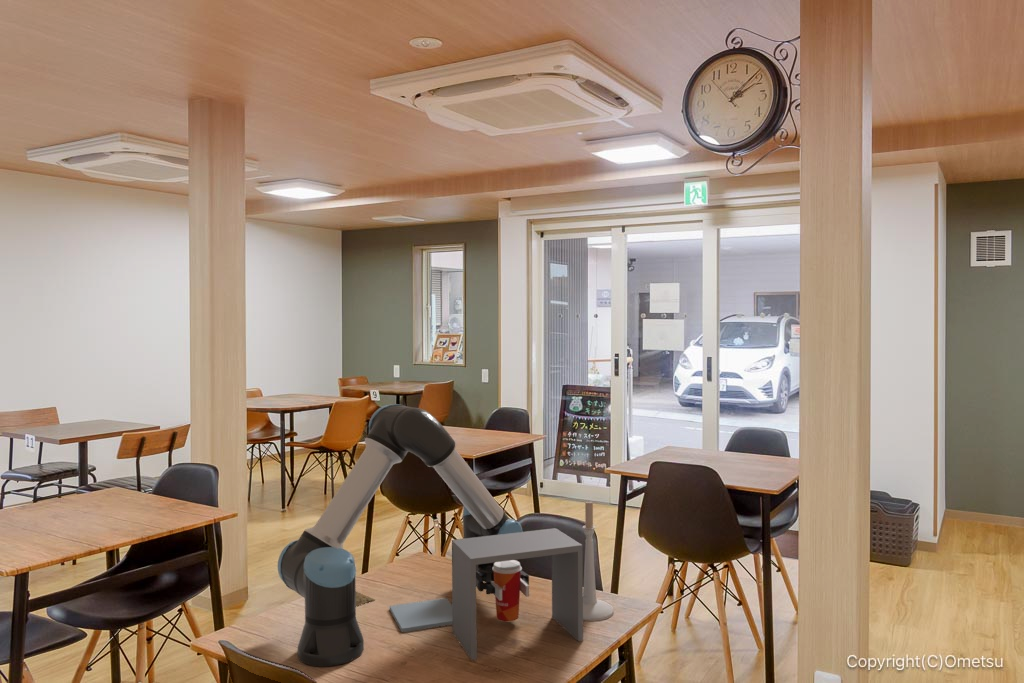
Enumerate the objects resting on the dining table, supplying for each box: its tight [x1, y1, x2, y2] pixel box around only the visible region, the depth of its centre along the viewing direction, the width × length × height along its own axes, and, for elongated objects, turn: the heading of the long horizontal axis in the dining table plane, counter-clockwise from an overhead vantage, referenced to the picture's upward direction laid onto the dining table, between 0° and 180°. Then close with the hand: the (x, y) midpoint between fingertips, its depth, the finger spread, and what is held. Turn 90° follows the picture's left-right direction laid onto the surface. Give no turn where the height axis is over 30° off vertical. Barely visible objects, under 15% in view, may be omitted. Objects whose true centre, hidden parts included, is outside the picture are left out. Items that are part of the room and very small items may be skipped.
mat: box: [389, 597, 453, 633], centre depth 194 cm, size 16×16×1 cm
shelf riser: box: [451, 527, 584, 661], centre depth 181 cm, size 28×16×24 cm, turn 110°
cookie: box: [356, 591, 376, 607], centre depth 206 cm, size 12×12×1 cm
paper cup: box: [492, 560, 523, 622], centre depth 189 cm, size 8×8×14 cm
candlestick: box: [582, 500, 615, 622], centre depth 196 cm, size 13×13×30 cm
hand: (514, 593), depth 184 cm, fingers closed on paper cup, 6 cm apart
